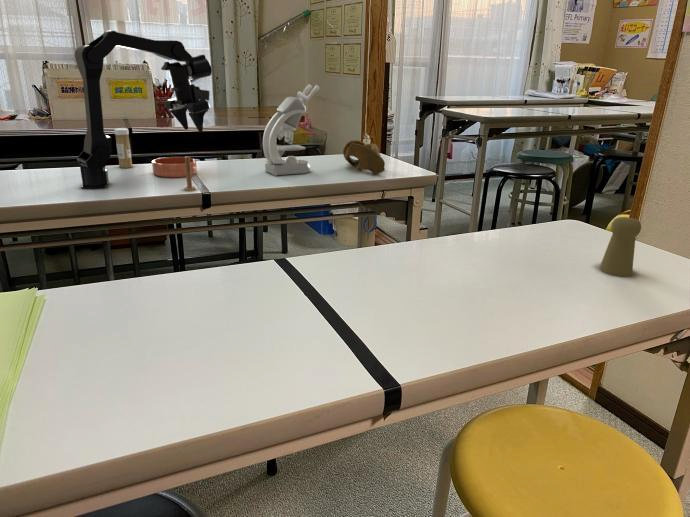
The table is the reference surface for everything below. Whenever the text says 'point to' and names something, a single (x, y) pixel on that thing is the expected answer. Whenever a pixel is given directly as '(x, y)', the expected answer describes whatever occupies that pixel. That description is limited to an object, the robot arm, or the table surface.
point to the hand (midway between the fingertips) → (193, 130)
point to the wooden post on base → (188, 175)
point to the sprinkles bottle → (123, 147)
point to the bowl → (172, 166)
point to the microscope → (286, 135)
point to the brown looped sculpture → (364, 156)
